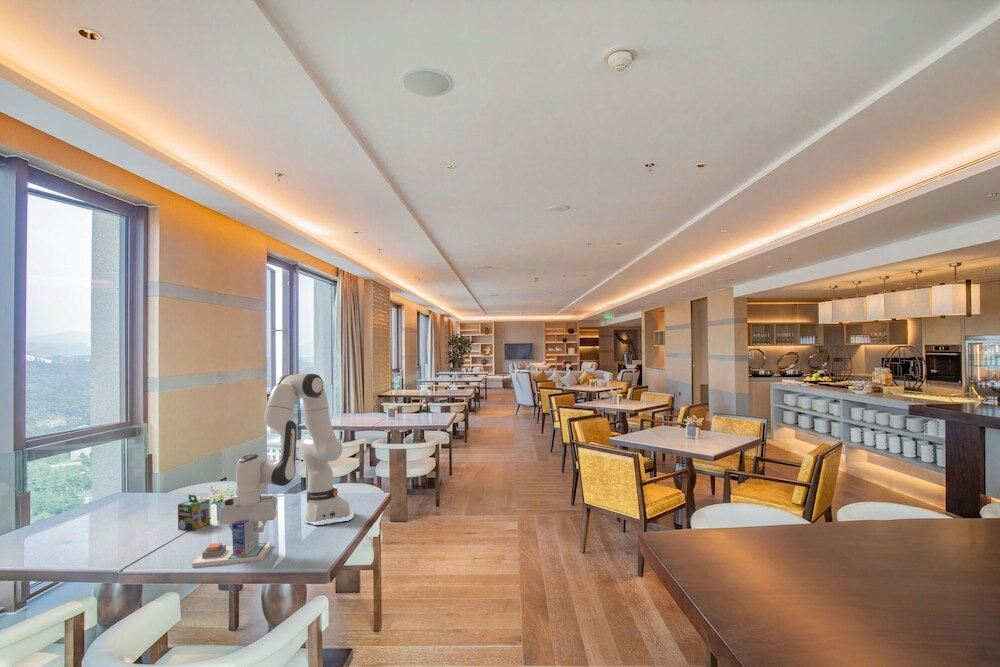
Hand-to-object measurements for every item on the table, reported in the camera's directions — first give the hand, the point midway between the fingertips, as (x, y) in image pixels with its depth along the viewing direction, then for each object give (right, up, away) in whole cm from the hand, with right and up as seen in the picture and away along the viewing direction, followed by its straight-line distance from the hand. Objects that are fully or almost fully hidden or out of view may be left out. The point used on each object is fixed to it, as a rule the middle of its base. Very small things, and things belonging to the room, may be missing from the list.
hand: (248, 533), depth 186 cm
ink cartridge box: (-1, -7, 0) cm, 7 cm away
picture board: (-5, -8, -1) cm, 10 cm away
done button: (-12, -6, -3) cm, 13 cm away
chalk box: (-42, -11, +32) cm, 53 cm away
